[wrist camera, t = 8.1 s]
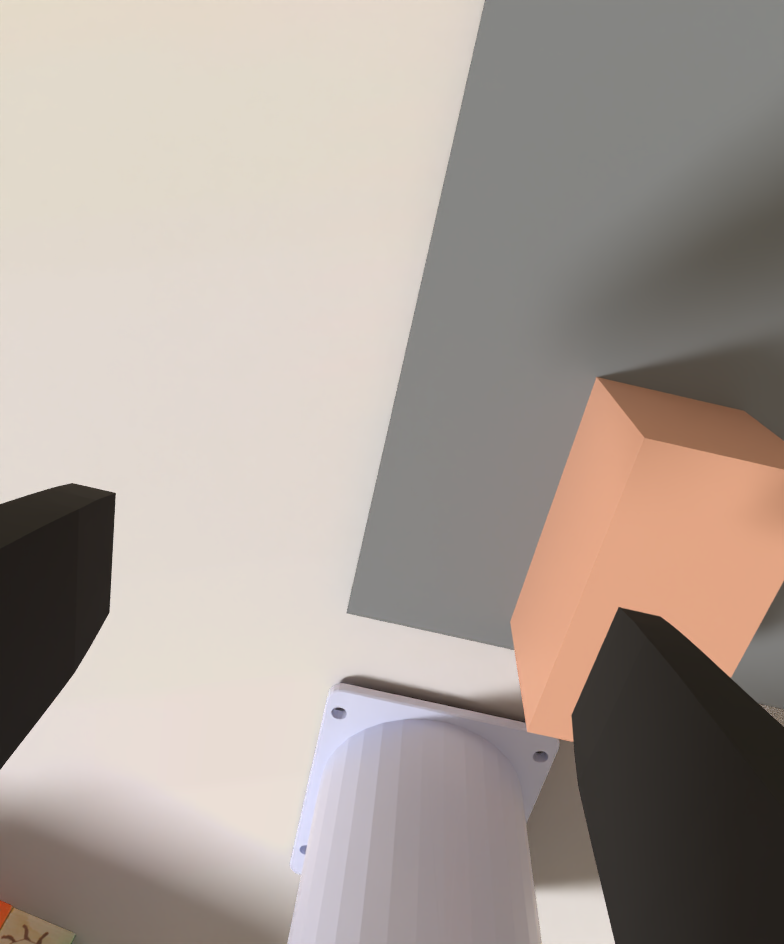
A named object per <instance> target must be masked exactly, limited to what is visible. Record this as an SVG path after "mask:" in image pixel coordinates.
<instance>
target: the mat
mask: <svg viewBox="0 0 784 944" xmlns="http://www.w3.org/2000/svg"><path fill="white" fill-rule="evenodd" d="M596 377H599V378H603V379H608V380H612V381H616V382H621V383H625V384H629V385H634V386H638V387H642V388H647V389H651V390H656V391H660V392H664V393H669V394H673V395H677V396H682V397H686V398H690V399H695V400H699V401H703V402H708V403H712V404H716V405H721V406H725V407H729V408H734V409H738V410H742V411H745V412H746V413H748V414H749V415H750V416H752V417H753V418H754V419H756V420H757V421H758V422H760V423H761V424H762V425H763V426H765V427H766V428H767V429H769V430H770V431H771V432H773V433H774V434H775V435H777V436H778V437H779V438H781V439H782V440H783V441H784V0H485V3H484V8H483V12H482V16H481V21H480V25H479V30H478V34H477V39H476V43H475V47H474V52H473V56H472V61H471V65H470V70H469V74H468V78H467V83H466V87H465V92H464V96H463V100H462V105H461V109H460V114H459V118H458V123H457V127H456V131H455V136H454V140H453V145H452V149H451V153H450V158H449V162H448V167H447V171H446V176H445V180H444V184H443V189H442V193H441V198H440V202H439V206H438V211H437V215H436V220H435V224H434V229H433V233H432V237H431V242H430V246H429V251H428V255H427V259H426V264H425V268H424V273H423V277H422V282H421V286H420V290H419V295H418V299H417V304H416V308H415V312H414V317H413V321H412V326H411V330H410V335H409V339H408V343H407V348H406V352H405V357H404V361H403V366H402V370H401V374H400V379H399V383H398V388H397V392H396V396H395V401H394V405H393V410H392V414H391V419H390V423H389V427H388V432H387V436H386V441H385V445H384V449H383V454H382V458H381V463H380V467H379V472H378V476H377V480H376V485H375V489H374V494H373V498H372V502H371V507H370V511H369V516H368V520H367V525H366V529H365V533H364V538H363V542H362V547H361V551H360V555H359V560H358V564H357V569H356V573H355V578H354V582H353V586H352V591H351V595H350V600H349V604H348V609H347V613H348V614H353V615H357V616H362V617H367V618H371V619H376V620H380V621H385V622H389V623H394V624H398V625H403V626H407V627H412V628H417V629H421V630H426V631H430V632H435V633H439V634H444V635H448V636H453V637H457V638H462V639H467V640H471V641H476V642H480V643H485V644H489V645H494V646H498V647H503V648H508V649H512V650H514V644H513V637H512V631H511V624H510V621H511V618H512V615H513V612H514V609H515V607H516V604H517V601H518V598H519V595H520V592H521V590H522V587H523V584H524V581H525V578H526V575H527V573H528V570H529V567H530V564H531V561H532V558H533V556H534V553H535V550H536V547H537V544H538V541H539V539H540V536H541V533H542V530H543V527H544V524H545V522H546V519H547V516H548V513H549V510H550V507H551V505H552V502H553V499H554V496H555V493H556V490H557V488H558V485H559V482H560V479H561V476H562V473H563V471H564V468H565V465H566V462H567V459H568V456H569V454H570V451H571V448H572V445H573V442H574V439H575V437H576V434H577V431H578V428H579V425H580V422H581V420H582V417H583V414H584V411H585V408H586V405H587V403H588V400H589V397H590V394H591V391H592V388H593V386H594V383H595V380H596ZM731 679H732V680H733V681H734V682H735V683H737V684H738V685H739V686H740V687H741V688H742V689H743V690H744V691H745V692H746V693H747V694H748V695H749V696H751V697H752V698H753V699H754V700H755V701H756V702H757V703H758V704H762V705H767V706H771V707H776V708H780V709H784V581H783V583H782V585H781V587H780V589H779V591H778V592H777V594H776V596H775V598H774V600H773V602H772V603H771V605H770V607H769V609H768V611H767V613H766V614H765V616H764V618H763V620H762V622H761V624H760V625H759V627H758V629H757V631H756V633H755V635H754V636H753V638H752V640H751V642H750V644H749V646H748V647H747V649H746V651H745V653H744V655H743V657H742V658H741V660H740V662H739V664H738V666H737V668H736V669H735V671H734V673H733V675H732V677H731Z"/></svg>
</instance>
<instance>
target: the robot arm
mask: <svg viewBox="0 0 784 944" xmlns="http://www.w3.org/2000/svg"><path fill="white" fill-rule="evenodd" d="M115 495H116V493H113V492H109V491H104V490H100V489H96V488H91V487H87V486H82V485H78V484H73V483H71V484H67V485H62V486H58V487H54V488H51V489H47V490H44V491H40V492H37V493H34V494H31V495H27V496H24V497H21V498H18V499H15V500H12V501H9V502H6V503H3V504H0V769H1V768H2V767H3V765H4V764H5V763H6V761H7V760H8V759H9V758H10V756H11V755H12V754H13V752H14V751H15V750H16V749H17V747H18V746H19V745H20V743H21V742H22V741H23V740H24V738H25V737H26V736H27V734H28V733H29V732H30V731H31V729H32V728H33V727H34V725H35V724H36V723H37V722H38V720H39V719H40V718H41V716H42V715H43V714H44V712H45V711H46V710H47V708H48V707H49V706H50V705H51V703H52V702H53V701H54V699H55V698H56V697H57V695H58V694H59V693H60V691H61V690H62V689H63V688H64V686H65V685H66V684H67V682H68V681H69V679H70V678H71V677H72V675H73V674H74V673H75V671H76V669H77V668H78V666H79V664H80V663H81V661H82V659H83V658H84V656H85V654H86V653H87V651H88V649H89V648H90V646H91V644H92V643H93V641H94V639H95V637H96V635H97V634H98V632H99V630H100V628H101V627H102V625H103V623H104V621H105V619H106V618H107V616H108V614H109V609H110V590H111V571H112V552H113V533H114V514H115ZM336 707H341V708H343V709H345V710H344V711H339V710H337V709H335V708H336ZM571 717H572V729H573V741H574V753H575V762H576V770H577V779H578V786H579V791H580V795H581V800H582V804H583V809H584V813H585V817H586V822H587V826H588V831H589V835H590V839H591V844H592V848H593V852H594V856H595V860H596V865H597V869H598V873H599V877H600V881H601V885H602V890H603V894H604V898H605V902H606V907H607V911H608V915H609V919H610V923H611V928H612V932H613V936H614V940H615V944H784V727H783V726H782V725H781V724H780V723H779V722H778V721H777V720H775V719H774V718H773V717H772V716H771V715H770V714H769V713H768V712H767V711H766V710H765V709H763V708H762V707H761V706H760V705H759V704H758V703H757V702H756V701H755V700H754V699H753V698H752V697H751V696H749V695H748V694H747V693H746V692H745V691H744V690H743V689H742V688H741V687H740V686H739V685H738V684H737V683H735V682H734V681H733V680H732V679H731V678H730V677H729V676H728V675H727V674H726V673H725V672H724V671H723V670H722V669H720V668H719V667H718V666H717V665H716V664H715V663H714V662H713V661H712V660H711V659H710V658H709V657H708V656H706V655H705V654H704V653H703V652H702V651H701V650H700V649H699V648H698V647H697V646H695V645H694V644H693V643H692V642H691V641H690V640H689V639H688V638H687V637H685V636H684V635H683V634H682V633H681V632H680V631H678V630H677V629H676V628H675V627H674V626H672V625H671V624H670V623H668V622H667V621H666V620H665V619H663V618H662V617H660V616H656V615H652V614H647V613H643V612H639V611H634V610H630V609H625V608H621V607H618V610H617V612H616V614H615V616H614V619H613V621H612V623H611V626H610V628H609V630H608V632H607V635H606V637H605V639H604V642H603V644H602V646H601V648H600V651H599V653H598V655H597V658H596V660H595V662H594V665H593V667H592V669H591V671H590V674H589V676H588V678H587V681H586V683H585V685H584V687H583V690H582V692H581V694H580V697H579V699H578V701H577V703H576V706H575V708H574V710H573V713H572V715H571ZM559 745H560V743H559V739H557V738H553V737H548V736H544V735H539V734H534V733H530V732H527V728H526V723H524V722H520V721H515V720H511V719H506V718H501V717H497V716H492V715H488V714H483V713H478V712H474V711H469V710H465V709H460V708H455V707H451V706H446V705H442V704H437V703H432V702H428V701H423V700H419V699H414V698H409V697H405V696H400V695H396V694H391V693H386V692H382V691H377V690H373V689H368V688H363V687H359V686H354V685H350V684H343V683H339V684H336V685H334V686H332V687H331V688H330V690H329V693H328V697H327V701H326V706H325V710H324V715H323V719H322V723H321V728H320V732H319V737H318V741H317V746H316V750H315V754H314V759H313V763H312V768H311V772H310V776H309V781H308V785H307V790H306V794H305V799H304V803H303V807H302V812H301V816H300V821H299V825H298V829H297V834H296V838H295V843H294V847H293V852H292V856H291V860H290V867H291V869H292V870H293V871H294V872H295V873H297V874H300V875H301V878H300V883H299V888H298V893H297V898H296V903H295V908H294V913H293V918H292V923H291V928H290V932H289V937H288V942H287V944H542V941H541V933H540V926H539V918H538V911H537V903H536V895H535V888H534V880H533V872H532V865H531V857H530V849H529V842H528V834H527V826H526V824H527V821H528V819H529V817H530V814H531V812H532V810H533V807H534V805H535V803H536V801H537V798H538V796H539V794H540V791H541V789H542V787H543V784H544V782H545V780H546V777H547V775H548V773H549V770H550V768H551V766H552V763H553V761H554V759H555V757H556V754H557V752H558V750H559ZM538 751H543V753H535V752H538Z"/></svg>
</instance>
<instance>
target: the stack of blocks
mask: <svg viewBox="0 0 784 944" xmlns="http://www.w3.org/2000/svg"><path fill="white" fill-rule="evenodd" d="M74 937H75V934H74V933H73V932H71V931H68V930H66V929H63V928H61V927H59V926H56V925H54V924H52V923H49V922H47V921H45V920H42V919H40V918H38V917H35V916H33V915H30V914H28V913H26V912H23V911H21V910H19V909H16V908H14V907H13V906H11V905H10V904H7V903H5V902H3V901H0V944H72V941H73V939H74Z"/></svg>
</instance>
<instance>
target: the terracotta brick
mask: <svg viewBox="0 0 784 944" xmlns="http://www.w3.org/2000/svg"><path fill="white" fill-rule="evenodd" d="M783 581H784V441H783V440H782V439H781V438H779V437H778V436H777V435H775V434H774V433H773V432H771V431H770V430H769V429H767V428H766V427H765V426H763V425H762V424H761V423H760V422H758V421H757V420H756V419H754V418H753V417H752V416H750V415H749V414H748V413H746V412H745V411H742V410H738V409H734V408H729V407H725V406H721V405H716V404H712V403H708V402H703V401H699V400H695V399H690V398H686V397H682V396H677V395H673V394H669V393H664V392H660V391H656V390H651V389H647V388H642V387H638V386H634V385H629V384H625V383H621V382H616V381H612V380H608V379H603V378H599V377H596V380H595V383H594V386H593V388H592V391H591V394H590V397H589V400H588V403H587V405H586V408H585V411H584V414H583V417H582V420H581V422H580V425H579V428H578V431H577V434H576V437H575V439H574V442H573V445H572V448H571V451H570V454H569V456H568V459H567V462H566V465H565V468H564V471H563V473H562V476H561V479H560V482H559V485H558V488H557V490H556V493H555V496H554V499H553V502H552V505H551V507H550V510H549V513H548V516H547V519H546V522H545V524H544V527H543V530H542V533H541V536H540V539H539V541H538V544H537V547H536V550H535V553H534V556H533V558H532V561H531V564H530V567H529V570H528V573H527V575H526V578H525V581H524V584H523V587H522V590H521V592H520V595H519V598H518V601H517V604H516V607H515V609H514V612H513V615H512V618H511V621H510V624H511V631H512V637H513V644H514V650H515V657H516V663H517V670H518V676H519V682H520V689H521V695H522V702H523V708H524V715H525V721H526V728H527V732H530V733H534V734H539V735H544V736H548V737H553V738H557V739H562V740H567V741H571V742H574V741H573V729H572V717H571V715H572V713H573V710H574V708H575V706H576V703H577V701H578V699H579V697H580V694H581V692H582V690H583V687H584V685H585V683H586V681H587V678H588V676H589V674H590V671H591V669H592V667H593V665H594V662H595V660H596V658H597V655H598V653H599V651H600V648H601V646H602V644H603V642H604V639H605V637H606V635H607V632H608V630H609V628H610V626H611V623H612V621H613V619H614V616H615V614H616V612H617V610H618V607H621V608H625V609H630V610H634V611H639V612H643V613H647V614H652V615H656V616H660V617H662V618H663V619H665V620H666V621H667V622H668V623H670V624H671V625H672V626H674V627H675V628H676V629H677V630H678V631H680V632H681V633H682V634H683V635H684V636H685V637H687V638H688V639H689V640H690V641H691V642H692V643H693V644H694V645H695V646H697V647H698V648H699V649H700V650H701V651H702V652H703V653H704V654H705V655H706V656H708V657H709V658H710V659H711V660H712V661H713V662H714V663H715V664H716V665H717V666H718V667H719V668H720V669H722V670H723V671H724V672H725V673H726V674H727V675H728V676H729V677H730V678H731V677H732V675H733V673H734V671H735V669H736V668H737V666H738V664H739V662H740V660H741V658H742V657H743V655H744V653H745V651H746V649H747V647H748V646H749V644H750V642H751V640H752V638H753V636H754V635H755V633H756V631H757V629H758V627H759V625H760V624H761V622H762V620H763V618H764V616H765V614H766V613H767V611H768V609H769V607H770V605H771V603H772V602H773V600H774V598H775V596H776V594H777V592H778V591H779V589H780V587H781V585H782V583H783Z"/></svg>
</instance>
